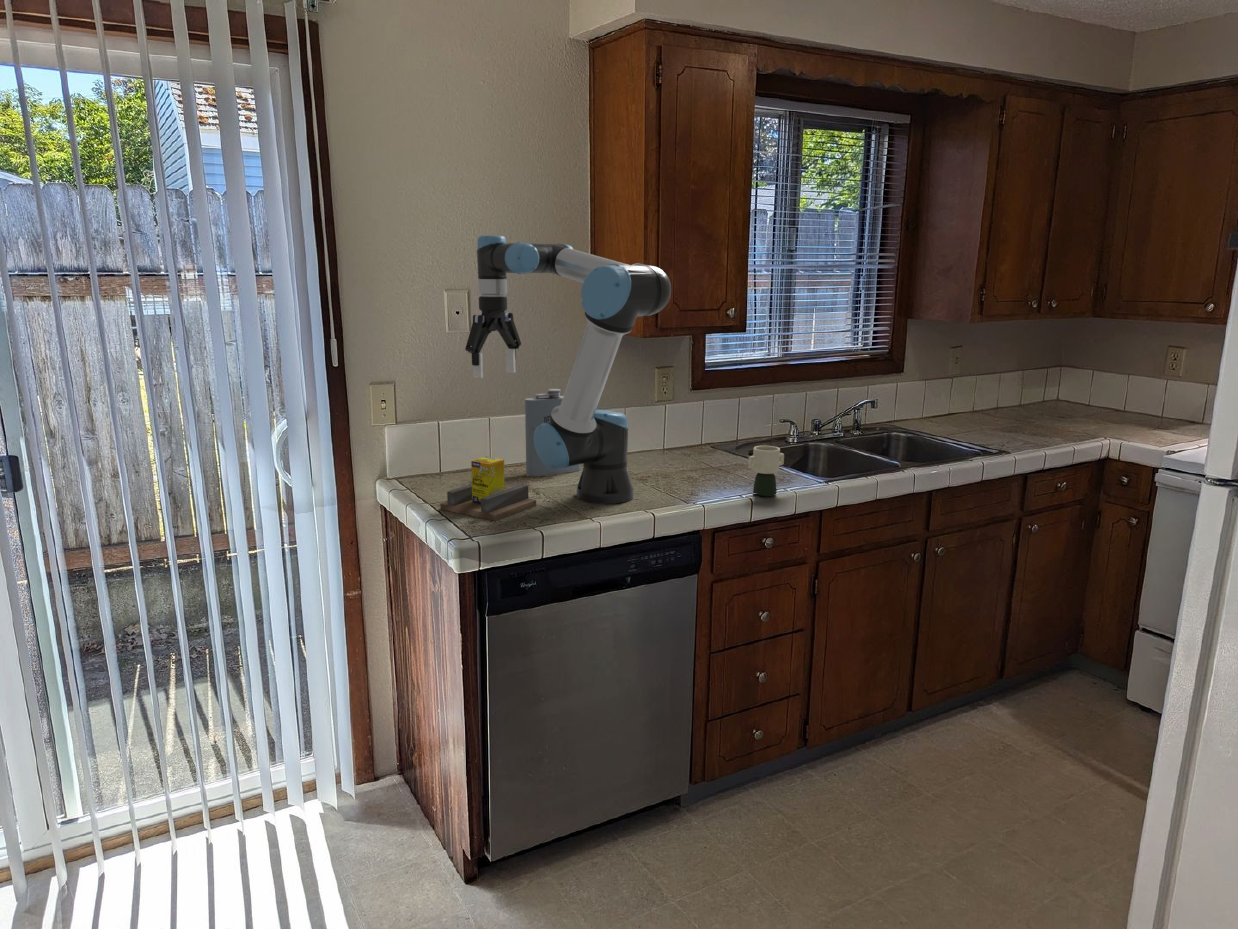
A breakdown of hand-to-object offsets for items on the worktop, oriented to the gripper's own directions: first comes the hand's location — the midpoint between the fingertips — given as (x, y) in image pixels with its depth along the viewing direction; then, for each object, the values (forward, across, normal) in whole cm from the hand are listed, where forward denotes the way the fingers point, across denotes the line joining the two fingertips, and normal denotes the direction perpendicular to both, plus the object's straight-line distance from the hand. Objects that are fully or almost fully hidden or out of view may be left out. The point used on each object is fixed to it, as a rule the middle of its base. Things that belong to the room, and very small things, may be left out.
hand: (494, 375), depth 234 cm
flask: (+31, -20, +5) cm, 37 cm away
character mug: (+31, -31, +67) cm, 80 cm away
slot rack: (+31, +19, +13) cm, 38 cm away
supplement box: (+29, +19, +13) cm, 37 cm away
